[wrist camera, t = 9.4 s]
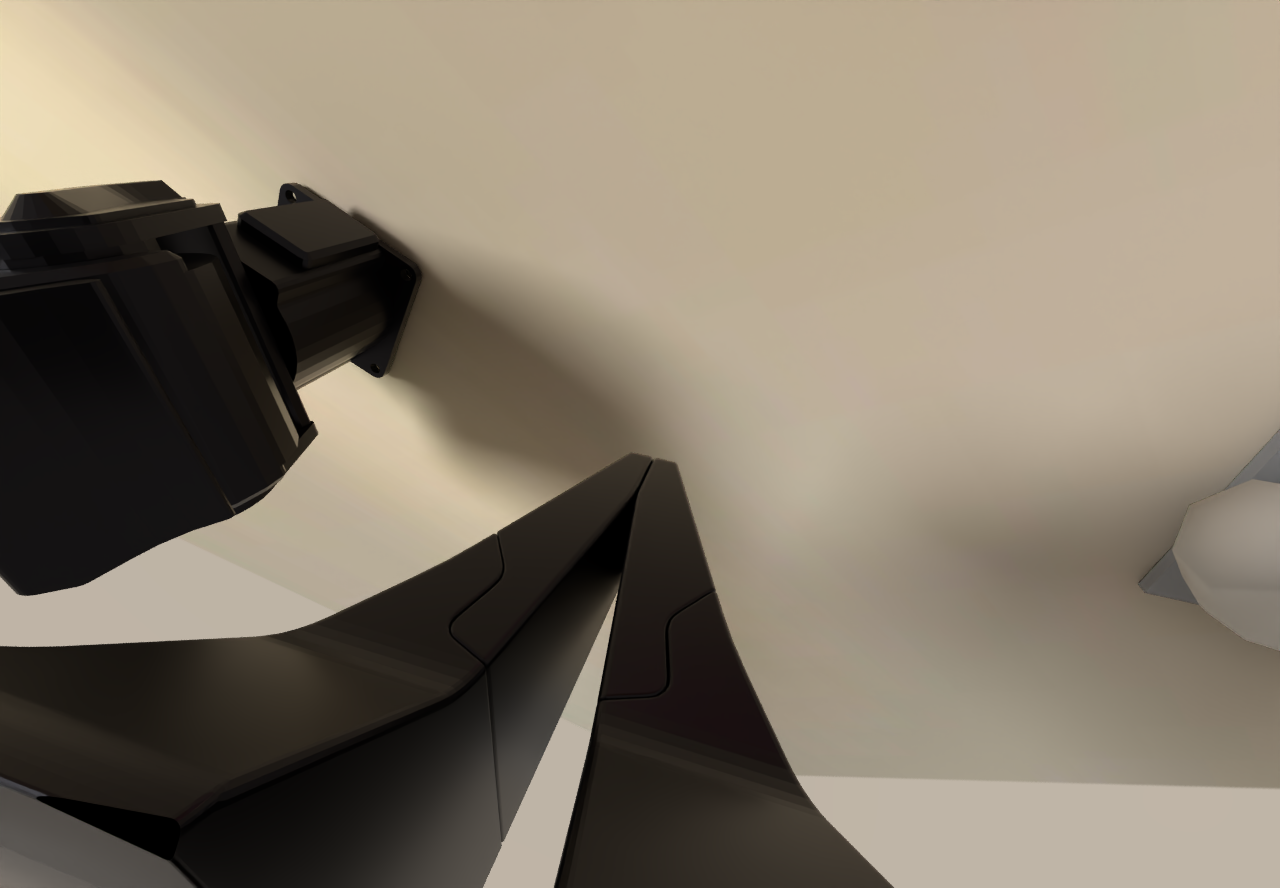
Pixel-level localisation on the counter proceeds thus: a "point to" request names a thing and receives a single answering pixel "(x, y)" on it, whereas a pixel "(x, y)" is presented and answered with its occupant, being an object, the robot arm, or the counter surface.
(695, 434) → the counter surface
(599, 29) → the counter surface
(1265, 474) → the mat
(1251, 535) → the salt shaker
